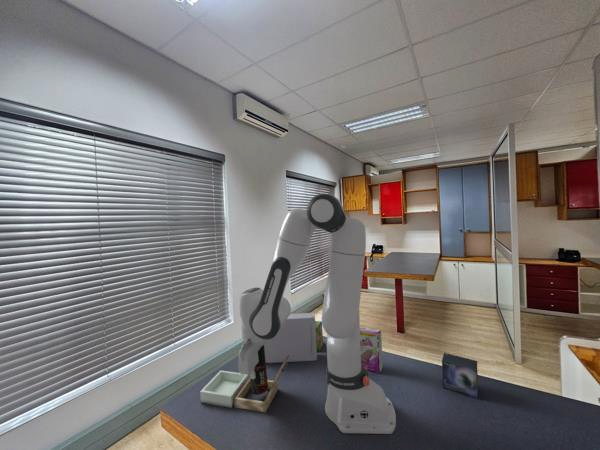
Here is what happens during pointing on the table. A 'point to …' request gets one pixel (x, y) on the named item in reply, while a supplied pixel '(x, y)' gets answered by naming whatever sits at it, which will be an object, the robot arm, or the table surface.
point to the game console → (294, 340)
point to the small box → (460, 375)
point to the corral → (253, 404)
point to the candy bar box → (371, 349)
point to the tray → (223, 388)
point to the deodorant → (260, 375)
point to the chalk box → (318, 335)
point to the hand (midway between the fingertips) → (258, 371)
